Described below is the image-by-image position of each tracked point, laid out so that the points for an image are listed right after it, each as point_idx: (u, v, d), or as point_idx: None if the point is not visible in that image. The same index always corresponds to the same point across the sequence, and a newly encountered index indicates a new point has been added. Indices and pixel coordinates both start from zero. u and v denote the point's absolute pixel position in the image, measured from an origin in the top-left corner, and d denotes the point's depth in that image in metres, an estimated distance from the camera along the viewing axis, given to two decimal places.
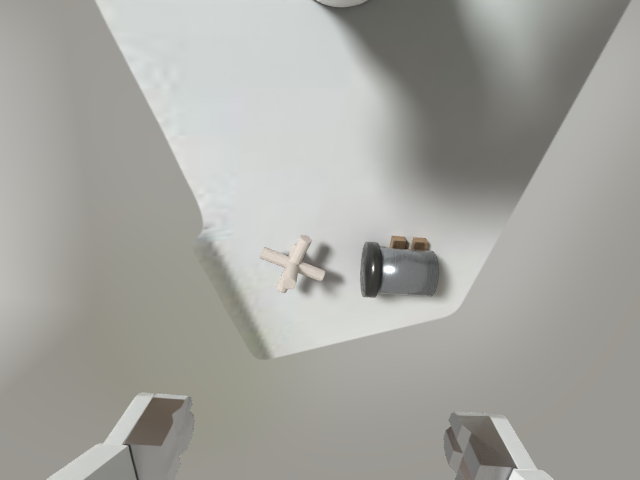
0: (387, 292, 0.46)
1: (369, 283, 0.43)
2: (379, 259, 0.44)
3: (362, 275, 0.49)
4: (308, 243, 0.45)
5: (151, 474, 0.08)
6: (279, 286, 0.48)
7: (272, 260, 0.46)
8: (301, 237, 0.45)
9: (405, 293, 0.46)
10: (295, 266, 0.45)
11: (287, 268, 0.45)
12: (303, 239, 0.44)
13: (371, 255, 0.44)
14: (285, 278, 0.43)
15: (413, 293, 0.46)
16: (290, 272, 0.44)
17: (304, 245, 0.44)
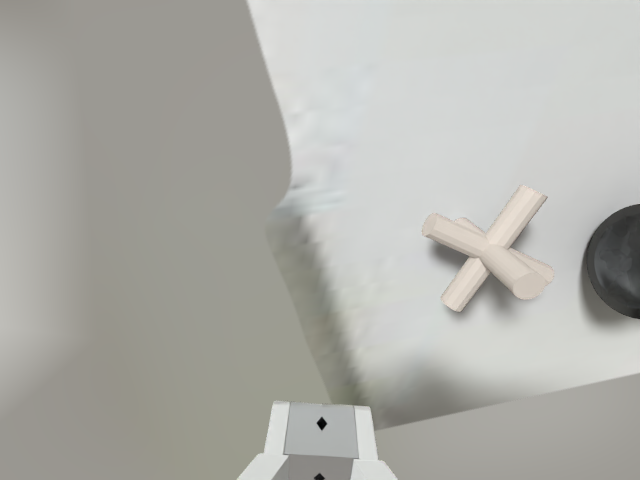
0: None
1: None
2: None
3: (614, 276, 0.24)
4: (544, 199, 0.20)
5: None
6: (454, 298, 0.23)
7: (455, 240, 0.22)
8: (526, 187, 0.21)
9: None
10: (509, 251, 0.21)
11: (497, 255, 0.20)
12: None
13: None
14: (519, 273, 0.18)
15: None
16: (518, 261, 0.19)
17: (536, 204, 0.20)
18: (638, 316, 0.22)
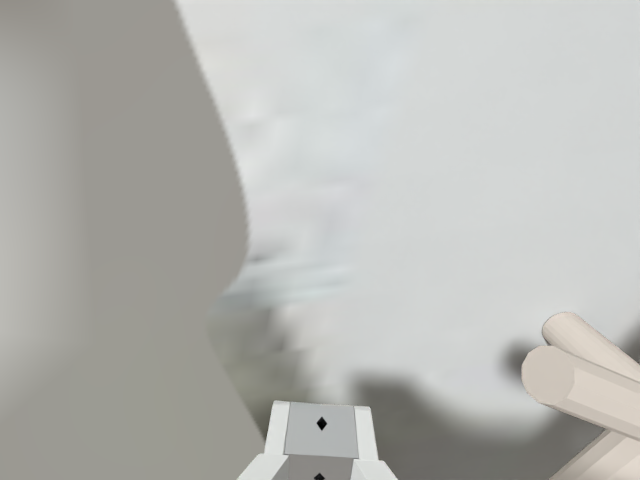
0: None
1: None
2: None
3: None
4: None
5: None
6: None
7: (613, 419, 0.09)
8: None
9: None
10: None
11: None
12: None
13: None
14: None
15: None
16: None
17: None
18: None
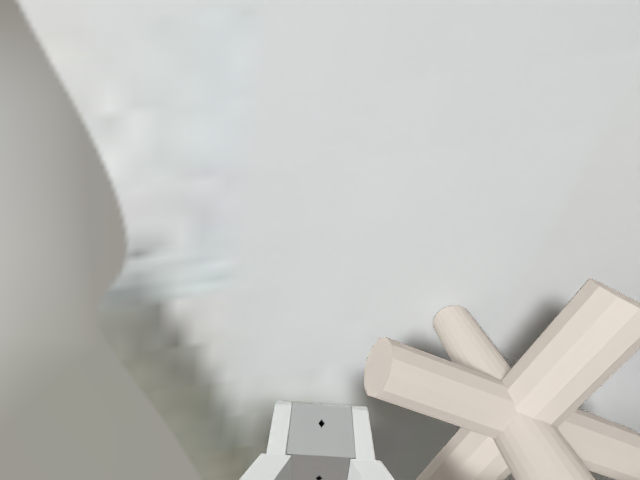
0: None
1: None
2: None
3: None
4: None
5: None
6: None
7: (437, 411, 0.09)
8: (610, 292, 0.08)
9: None
10: (570, 448, 0.08)
11: (541, 468, 0.08)
12: (638, 306, 0.08)
13: None
14: None
15: None
16: None
17: (638, 339, 0.08)
18: None
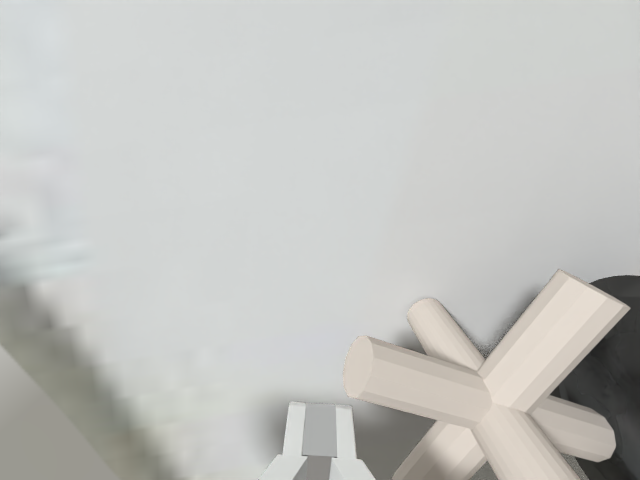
0: None
1: None
2: None
3: None
4: None
5: None
6: None
7: (417, 408, 0.09)
8: (579, 282, 0.09)
9: None
10: (544, 434, 0.09)
11: (519, 457, 0.08)
12: (605, 296, 0.08)
13: None
14: None
15: None
16: None
17: (606, 326, 0.08)
18: None
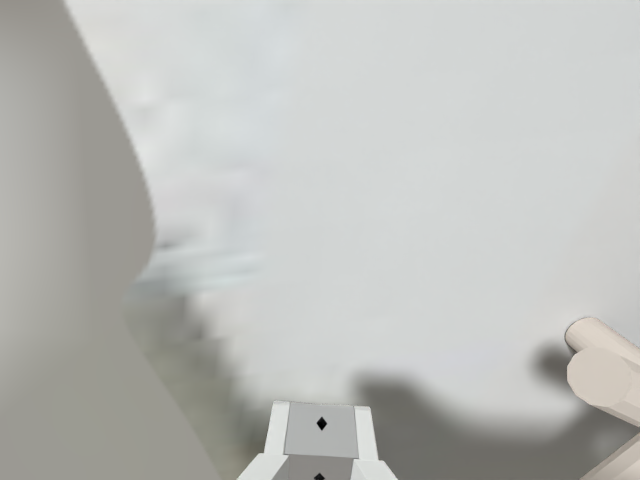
0: None
1: None
2: None
3: None
4: None
5: None
6: None
7: None
8: None
9: None
10: None
11: None
12: None
13: None
14: None
15: None
16: None
17: None
18: None
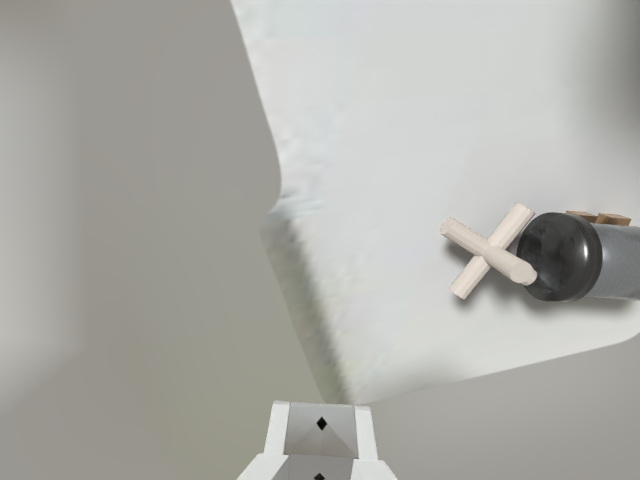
0: (596, 292, 0.28)
1: (582, 273, 0.26)
2: (594, 233, 0.26)
3: None
4: (532, 214, 0.28)
5: None
6: (460, 287, 0.30)
7: (466, 239, 0.28)
8: (520, 204, 0.28)
9: (626, 294, 0.28)
10: (506, 251, 0.28)
11: (497, 252, 0.27)
12: (526, 207, 0.27)
13: (578, 227, 0.26)
14: (514, 262, 0.25)
15: None
16: (514, 255, 0.26)
17: (526, 217, 0.27)
18: (546, 299, 0.29)
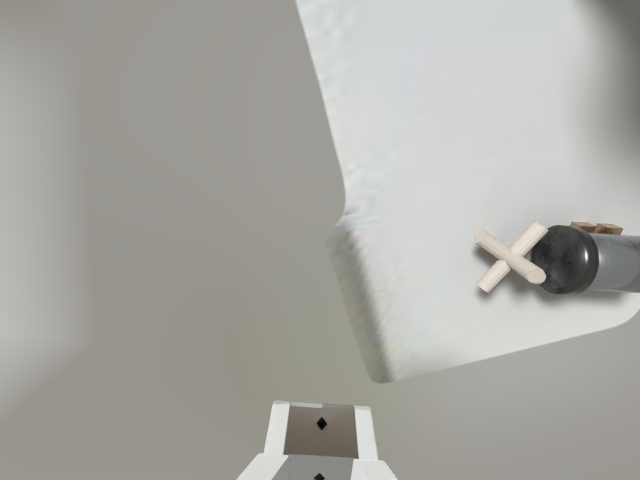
0: (594, 286, 0.36)
1: (584, 272, 0.34)
2: (593, 242, 0.35)
3: (545, 268, 0.40)
4: (547, 231, 0.36)
5: None
6: (486, 283, 0.39)
7: (494, 247, 0.37)
8: (537, 223, 0.36)
9: (617, 287, 0.36)
10: (524, 258, 0.36)
11: (517, 258, 0.36)
12: (542, 226, 0.36)
13: (580, 237, 0.35)
14: (531, 267, 0.34)
15: (628, 287, 0.36)
16: (530, 262, 0.35)
17: (542, 233, 0.36)
18: (555, 292, 0.38)
